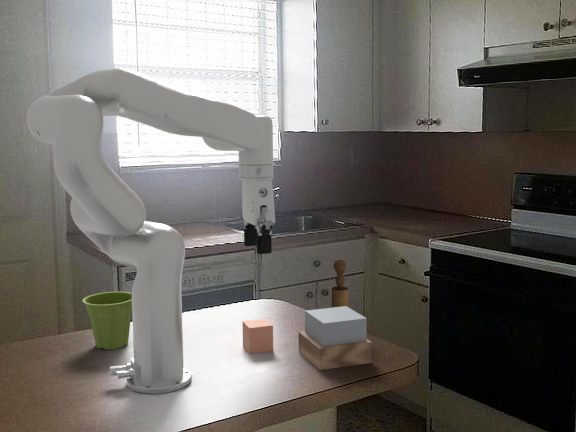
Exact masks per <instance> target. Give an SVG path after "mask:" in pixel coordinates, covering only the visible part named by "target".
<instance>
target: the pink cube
mask: <svg viewBox="0 0 576 432" xmlns="http://www.w3.org/2000/svg"><path fill="white" fill-rule="evenodd" d="M241 322H242V347H243V348H244V349H245V350H246V352H247V353H248V354H249V355H252V354H253V353H254V354H260V353H261V352H262V353H267V352H268V353H269V351H270V352H274V325H273V324H272V323H271V322H270V321H269V320H267V318H261V319H260V318H259V319H251V320H250V319H249V320H242V321H241Z"/></svg>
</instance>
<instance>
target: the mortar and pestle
mask: <svg viewBox="0 0 576 432" xmlns="http://www.w3.org/2000/svg"><path fill="white" fill-rule="evenodd" d="M333 269H334V271H335V273H336V277H335V279H334V280H335V283H336V286H332V288H331V308H334V307H343V306H347V307H348V308H349V287H347V286H344V285H345V280H346V277H344V273H345V270H346V269H347V263H346V261H345V260H343V259H336V260H335V262H334V263H333Z"/></svg>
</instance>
